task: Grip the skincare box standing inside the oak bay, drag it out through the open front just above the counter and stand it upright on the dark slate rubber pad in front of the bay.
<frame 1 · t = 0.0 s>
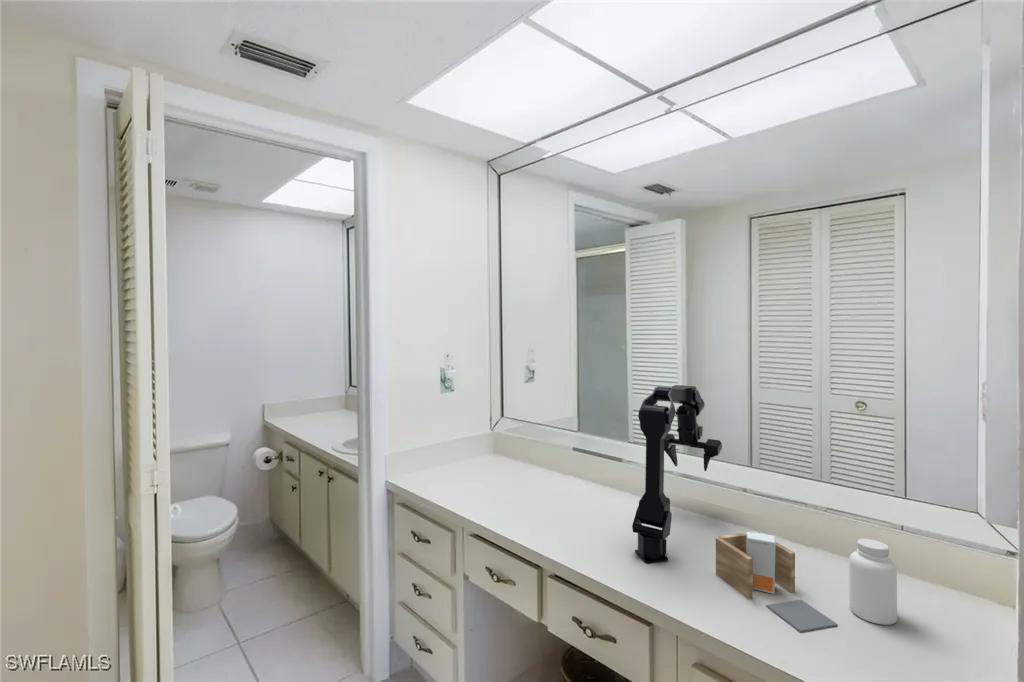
hand: (690, 468, 153), 15 cm above the worktop, tool pointing down, fingers open, 9 cm apart
pill bottle: (872, 615, 99), on the worktop
slate pad: (800, 616, 99), on the worktop
oak bay: (755, 583, 111), on the worktop
skincare box: (760, 588, 110), on the worktop
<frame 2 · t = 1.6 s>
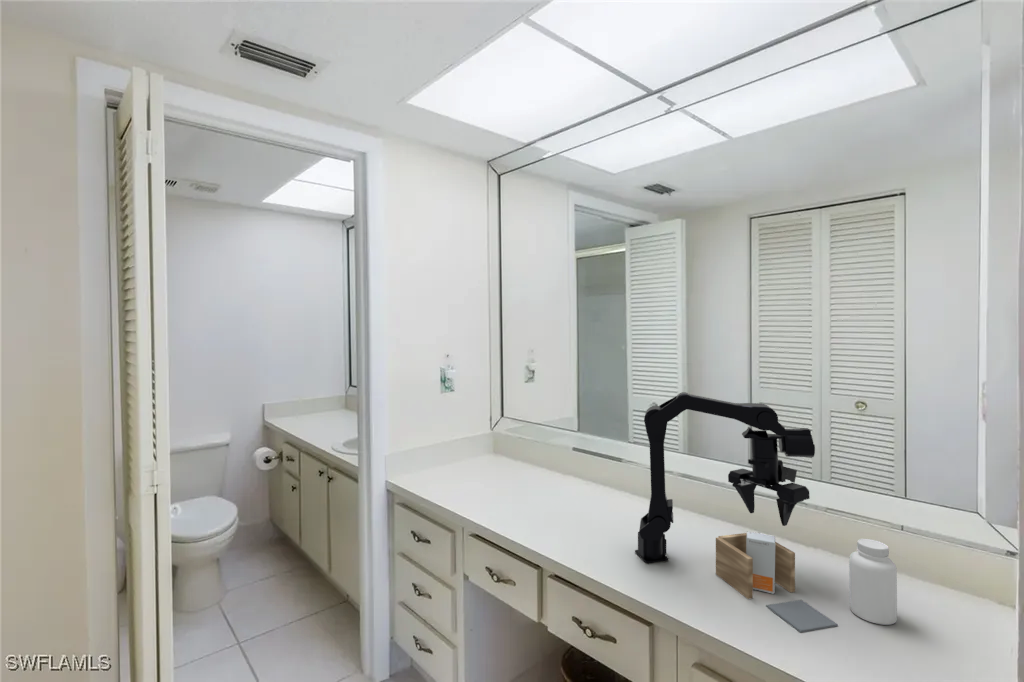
hand: (767, 519, 116), 13 cm above the worktop, tool pointing down, fingers open, 9 cm apart
nothing on the worktop moved.
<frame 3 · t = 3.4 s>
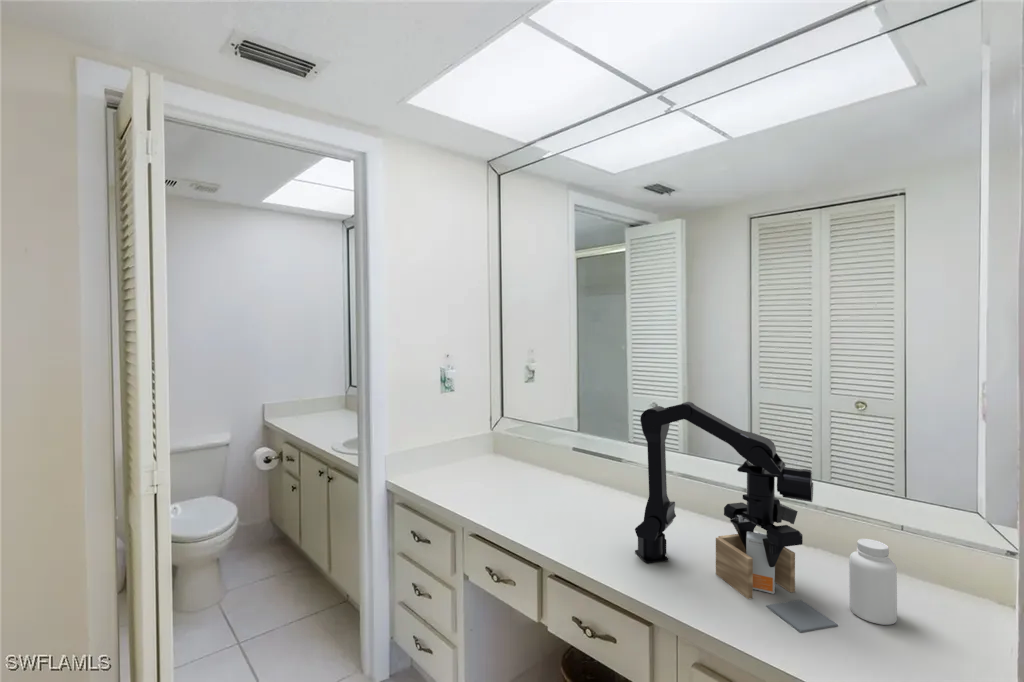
hand: (760, 559, 110), 7 cm above the worktop, tool pointing down, fingers closed on skincare box, 7 cm apart
skincare box: (760, 588, 110), on the worktop, touching gripper
everything else where it was.
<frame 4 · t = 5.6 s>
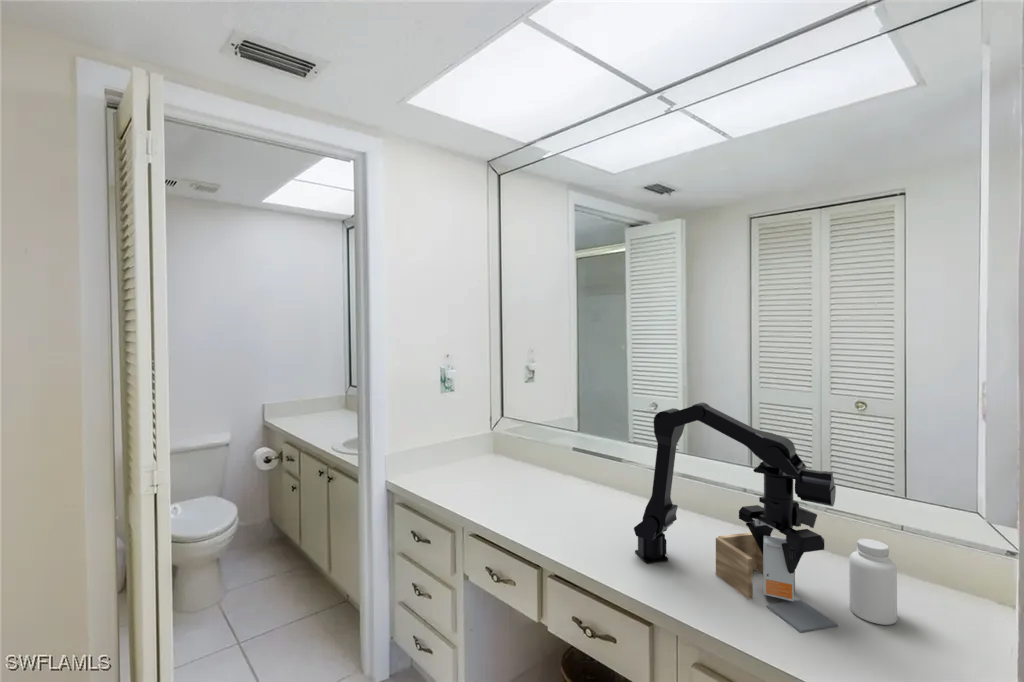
hand: (778, 565, 105), 8 cm above the worktop, tool pointing down, fingers closed on skincare box, 7 cm apart
skincare box: (778, 595, 105), point 1 cm above the worktop, touching gripper
everything else where it was.
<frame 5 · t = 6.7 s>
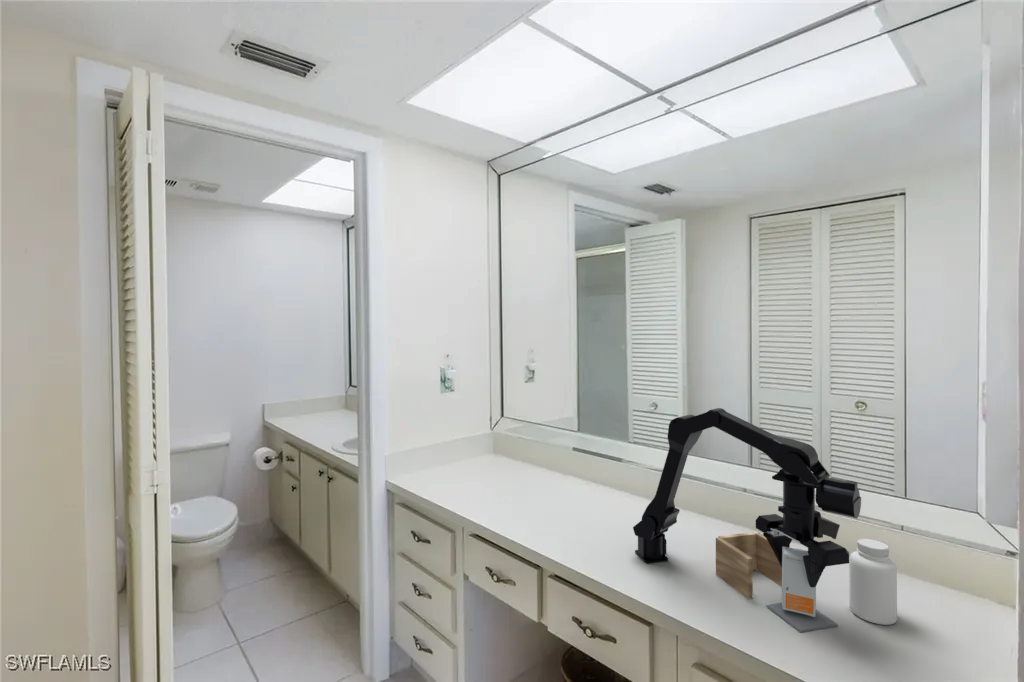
hand: (798, 578, 99), 8 cm above the worktop, tool pointing down, fingers closed on skincare box, 7 cm apart
skincare box: (798, 609, 99), point 1 cm above the worktop, touching gripper
everything else where it was.
when the fingers open (7 cm above the worktop, at t = 7.9 s): skincare box stays where it is, resting on slate pad.
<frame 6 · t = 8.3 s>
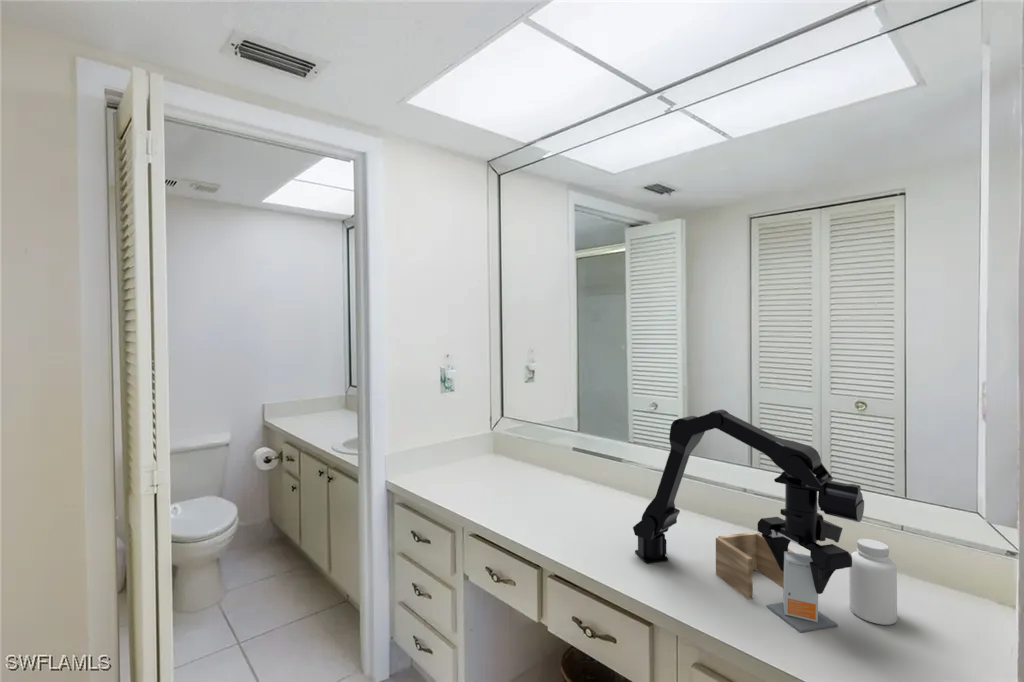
hand: (800, 581, 99), 7 cm above the worktop, tool pointing down, fingers open, 9 cm apart
skincare box: (800, 615, 99), resting on slate pad
everything else where it was.
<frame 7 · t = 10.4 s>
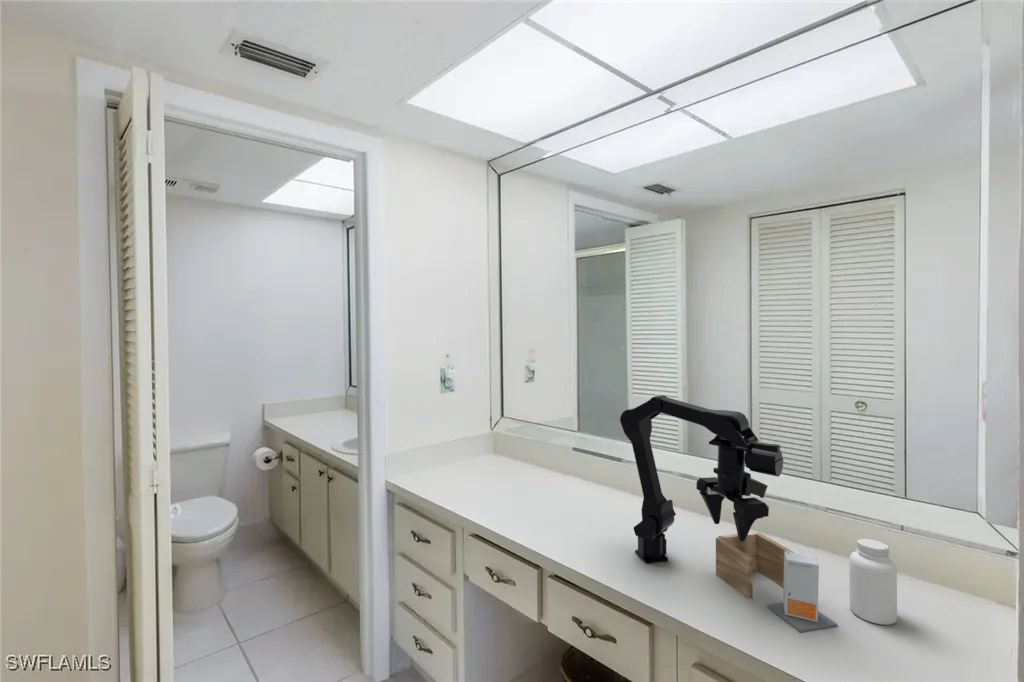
hand: (728, 531, 111), 12 cm above the worktop, tool pointing down, fingers open, 9 cm apart
nothing on the worktop moved.
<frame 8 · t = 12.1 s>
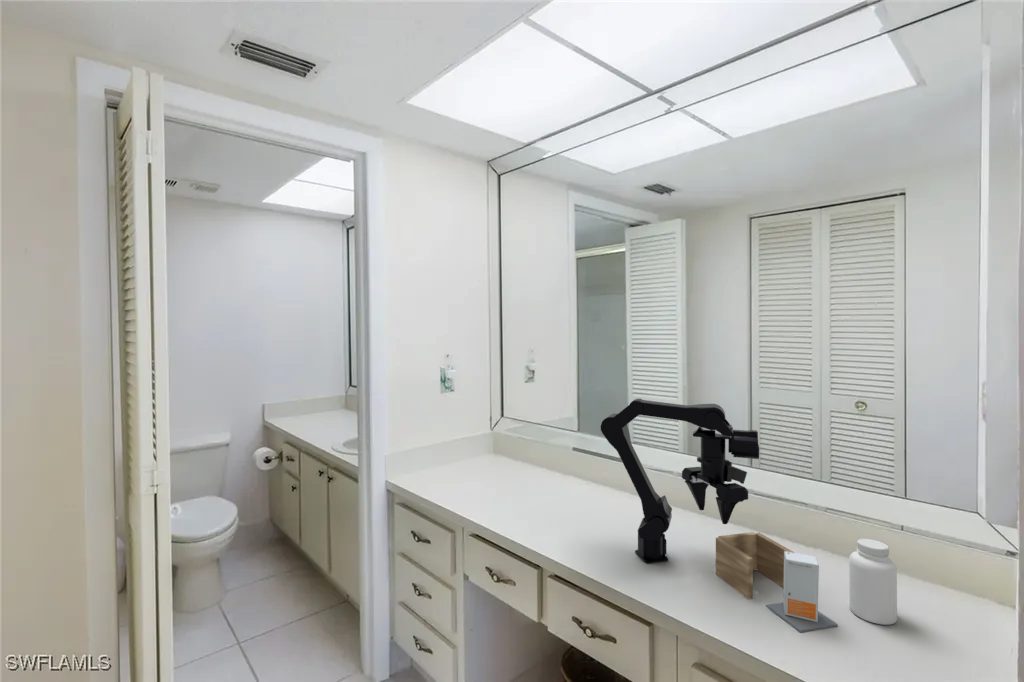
hand: (712, 516, 119), 13 cm above the worktop, tool pointing down, fingers open, 9 cm apart
nothing on the worktop moved.
at the end: skincare box inside the target area on the slate pad (0.0 cm from its centre), point 0.2 cm above the slate pad's base; skincare box tilted 0°; the gripper is holding nothing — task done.
